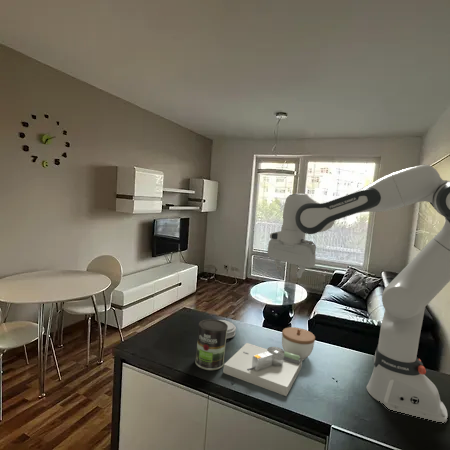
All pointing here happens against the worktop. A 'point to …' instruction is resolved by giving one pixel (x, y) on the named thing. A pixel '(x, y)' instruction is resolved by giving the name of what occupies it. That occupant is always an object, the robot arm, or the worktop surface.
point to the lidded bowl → (298, 341)
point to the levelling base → (268, 377)
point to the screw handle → (268, 358)
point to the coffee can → (211, 344)
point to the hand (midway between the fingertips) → (288, 274)
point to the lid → (229, 329)
